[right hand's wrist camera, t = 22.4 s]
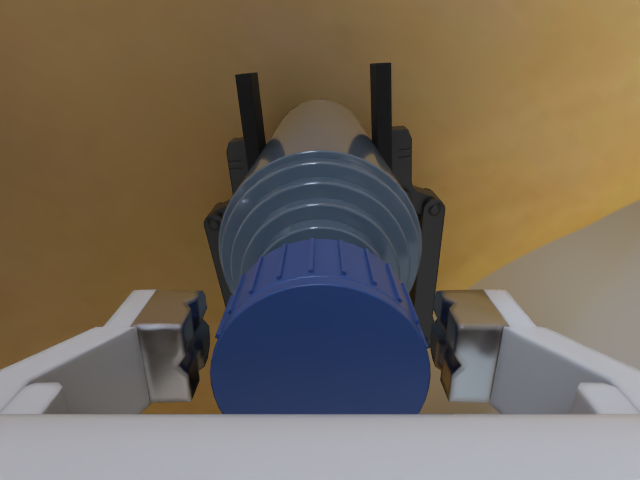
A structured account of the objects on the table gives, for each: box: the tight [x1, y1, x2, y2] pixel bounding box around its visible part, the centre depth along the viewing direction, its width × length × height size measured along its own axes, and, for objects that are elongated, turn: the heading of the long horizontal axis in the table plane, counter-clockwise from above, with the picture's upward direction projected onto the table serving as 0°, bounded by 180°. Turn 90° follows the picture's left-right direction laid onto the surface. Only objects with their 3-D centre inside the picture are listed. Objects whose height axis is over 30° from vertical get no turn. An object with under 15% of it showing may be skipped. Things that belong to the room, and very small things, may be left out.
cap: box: [210, 238, 430, 414], centre depth 9 cm, size 4×4×2 cm
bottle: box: [219, 99, 422, 295], centre depth 20 cm, size 6×6×24 cm
